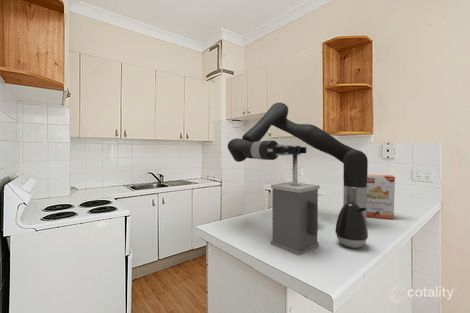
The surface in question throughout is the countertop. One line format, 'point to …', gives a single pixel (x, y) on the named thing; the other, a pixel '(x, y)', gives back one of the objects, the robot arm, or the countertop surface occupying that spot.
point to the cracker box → (380, 196)
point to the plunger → (295, 165)
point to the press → (295, 217)
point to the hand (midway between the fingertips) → (302, 150)
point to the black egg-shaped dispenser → (351, 226)
